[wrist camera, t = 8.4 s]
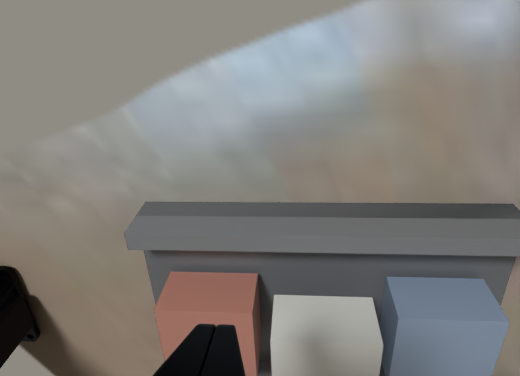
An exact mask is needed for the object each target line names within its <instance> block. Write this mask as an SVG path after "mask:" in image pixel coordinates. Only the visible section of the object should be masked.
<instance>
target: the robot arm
mask: <svg viewBox="0 0 520 376" xmlns="http://www.w3.org/2000/svg"><path fill="white" fill-rule="evenodd" d="M39 336H40V331H39V329H38V326H37V324H36V321H35V319H34V317H33V314H32V312H31V309H30V307H29V305H28V302H27V300H26V297H25V295H24V293H23V290H22V288H21V285H20V283H19V281H18V278H17V276H16V273H15V272H14V270H13V269H12V268H10V267H8V266H0V368H1V367H2V365H3V364H4V363H5V361H6V360H7V359H8V358H9V356H10V355H11V354H12V352H13V351H14V350H15V349H16V347H17V346H18V345H19V343H20V342H21V341H31V342H33V341H36V340H37V339H38V338H39ZM153 376H246V375H245V370H244V365H243V360H242V356H241V351H240V346H239V341H238V337H237V332H236V328H235V326H234V325H228V324H219V325H217V326H216V325H215V324H198V325H196V326H195V327H194V329H193V330H192V331H191V332H190V333H189V334H188V335H187V337H186V338H185V339H184V340H183V341H182V342H181V343H180V345H179V346H178V347H177V348H176V349H175V350H174V352H173V353H172V354H171V355H170V356H169V357H168V358H167V360H166V361H165V362H164V363H163V364H162V365H161V367H160V368H159V369H158V370H157V371H156V372H155V373H154V375H153Z"/></svg>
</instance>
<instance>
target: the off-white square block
mask: <svg viewBox="0 0 520 376" xmlns="http://www.w3.org/2000/svg"><path fill="white" fill-rule="evenodd" d="M270 345H271V367H272V376H379V373H380V366H381V359H382V352H383V341H382V337H381V333H380V328H379V324H378V320H377V315H376V311H375V307H374V302H373V298H372V297H342V296H306V295H274V301H273V314H272V326H271V339H270Z"/></svg>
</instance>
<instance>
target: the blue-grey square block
mask: <svg viewBox="0 0 520 376" xmlns="http://www.w3.org/2000/svg"><path fill="white" fill-rule="evenodd" d="M509 323H510V321H509V320H508V318H507V316H506V315H505V313H504V312H503V310H502V308H501V307H500V305H499V303H498V302H497V300H496V299H495V297H494V295H493V294H492V292H491V290H490V289H489V287H488V286H487V284H486V282H485V281H484V279H469V278H425V277H386V283H385V291H384V298H383V306H382V313H381V321H380V333H381V337H382V341H383V352H382V364H383V369H384V373H385V376H492V373H493V370H494V367H495V365H496V362H497V359H498V356H499V353H500V350H501V347H502V344H503V341H504V338H505V335H506V332H507V329H508V326H509Z"/></svg>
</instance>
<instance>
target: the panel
mask: <svg viewBox="0 0 520 376" xmlns="http://www.w3.org/2000/svg"><path fill="white" fill-rule="evenodd" d="M124 236H125V240H126V244H127V248H128V250H144V254H145V258H146V263H147V267H148V272H149V276H150V281H151V285H152V290H153V295H154V299H155V304H157V302H158V299H159V297H160V295H161V292H162V290H163V288H164V286H165V283H166V281H167V279H168V277H169V274H170V272H171V271H172V272H215V273H258V285H259V303H260V320H261V347H260V357H259V366H258V376H272V367H271V345H270V339H271V326H272V314H273V301H274V295H306V296H342V297H372V298H373V302H374V307H375V311H376V315H377V320H378V324H379V328H380V321H381V313H382V306H383V298H384V291H385V283H386V277H425V278H469V279H484V281H485V282H486V284H487V286H488V287H489V289H490V290H491V292H492V294H493V295H494V297H495V299H496V300H497V302H498V303H499V305H501V302H502V299H503V295H504V292H505V289H506V286H507V283H508V280H509V276H510V273H511V270H512V267H513V264H514V261H515V257H516V256H520V211H519V210H518V209H517V208H516V206H515V205H514V204H425V203H238V202H145V204H144V205H143V206H142V208H141V209H140V211H139V212H138V214H137V215H136V217H135V218H134V220H133V221H132V222H131V224H130V225H129V227H128V228H127V230H126V231H125V233H124ZM379 376H385V373H384V369H383V364H382V359H381V366H380V373H379Z"/></svg>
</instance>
